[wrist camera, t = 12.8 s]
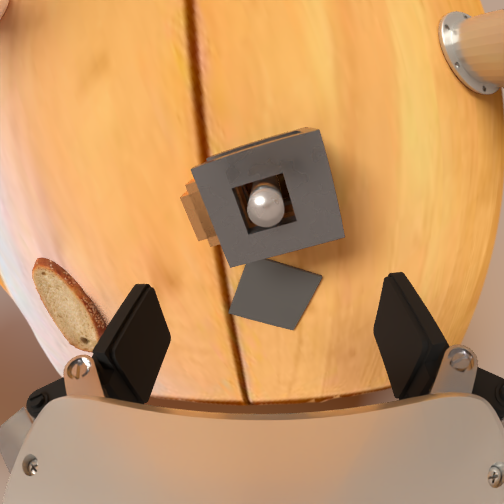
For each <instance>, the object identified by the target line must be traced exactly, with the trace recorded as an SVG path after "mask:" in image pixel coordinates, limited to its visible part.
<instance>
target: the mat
mask: <svg viewBox="0 0 504 504" xmlns="http://www.w3.org/2000/svg"><path fill="white" fill-rule="evenodd" d="M321 279H322V275H318V274H315V273H312V272H309V271H305V270H302V269H299V268H296V267H292V266H289V265H286V264H283V263H279V262H276V261H273V260H270V259H262V260H258V261H254V262H250V263H247V264H246V265H245V268H244V271H243V273H242V276H241V279H240V282H239V285H238V287H237V290H236V293H235V296H234V298H233V301H232V304H231V307H230V310H229V313H230V314H233V315H237V316H240V317H244V318H247V319H251V320H255V321H258V322H262V323H266V324H270V325H274V326H278V327H282V328H286V329H290V330H294V328H295V326H296V325H297V323H298V321H299V319H300V318H301V316H302V314H303V312H304V310H305V309H306V307H307V305H308V303H309V301H310V299H311V298H312V296H313V294H314V292H315V290H316V288H317V286H318V284H319V283H320V281H321Z"/></svg>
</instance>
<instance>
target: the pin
mask: <svg viewBox="0 0 504 504" xmlns="http://www.w3.org/2000/svg"><path fill="white" fill-rule="evenodd" d="M247 212H248V216H249V218H250V219H251V221H252V222H253V223H255V224H256V225H258V226H261V227H271V226H274V225H276V224H277V223H278V222H280V220H281V219H282V217H283V215H284V203H283V198H282V193H281V188H280V183H279V179H278V177H277V176H276V175H274V176H270V177H267V178H264V179H260V180H257V181H254V182H253V183H252V188H251V193H250V197H249V202H248V206H247Z"/></svg>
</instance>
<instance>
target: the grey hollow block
mask: <svg viewBox="0 0 504 504" xmlns="http://www.w3.org/2000/svg"><path fill="white" fill-rule="evenodd" d="M191 171H192V174H193V176H194V179H192V180H191V181H189V182H188V183H187V184H186V185H185V186H186V188H187V191H186V192H185V193H184V194H183V195H182V196H181V197H180V199H181V201H182V203H183V206H184V208H185V211H186V213H187V215H188V218H189V220H190V222H191V225H192V227H193V229H194V232H195V234H196V236H197V239H198V241H201V240H204V239H208V241H209V244H210V246H211V247H212V246H216V245H219V244H221V246H222V249H223V251H224V254H225V256H226V259H227V261H228V263H229V266H230V268H231V267H235V266H239V265H243V264H247V263H250V262H254V261H258V260H262V259H266V258H269V257H273V256H277V255H281V254H284V253H288V252H292V251H296V250H299V249H303V248H307V247H311V246H314V245H318V244H322V243H326V242H329V241H333V240H337V239H340V238H344V237H345V235H344V230H343V225H342V220H341V215H340V210H339V205H338V201H337V196H336V192H335V187H334V183H333V179H332V175H331V171H330V167H329V163H328V159H327V155H326V152H325V148H324V144H323V141H322V137H321V134H320V130H319V129H313V128H307V127H305V128H301V129H297V130H293V131H289V132H286V133H282V134H279V135H275V136H271V137H268V138H265V139H261V140H258V141H255V142H252V143H248V144H245V145H242V146H239V147H236V148H233V149H230V150H227V151H224V152H221V153H218V154H216V155H213V156H210V157H208V158H207V162H205V163H202V164H200V165H197V166H195V167H193V168H192V169H191ZM281 173H283V175H284V179H285V182H286V185H287V189H288V192H289V195H290V197H287V198H283V203H284V215H283V217H282V219H281V220H280V222H278V223H277V224H276V225H274V226H271V227H261V226H258V225H256V224H255V223H253V222H252V221H251V219H250V218H249V216H248V212H247V206H248V202H249V195H248V192H247V190H246V187H245V184H247V183H250V182H254V181H257V180H260V179H264V178H267V177H270V176H274V175H277V174H281Z"/></svg>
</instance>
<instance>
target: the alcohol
mask: <svg viewBox="0 0 504 504" xmlns="http://www.w3.org/2000/svg"><path fill="white" fill-rule="evenodd" d="M8 4H9V0H0V20H1V18H2V16H3V15H4V13H5V11H6V9H7V7H8Z"/></svg>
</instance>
